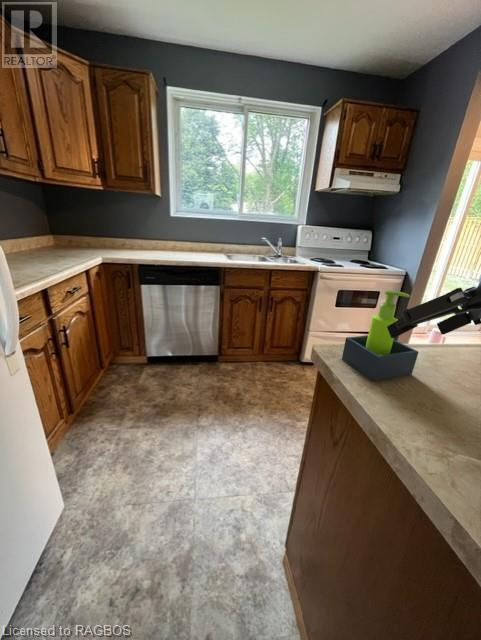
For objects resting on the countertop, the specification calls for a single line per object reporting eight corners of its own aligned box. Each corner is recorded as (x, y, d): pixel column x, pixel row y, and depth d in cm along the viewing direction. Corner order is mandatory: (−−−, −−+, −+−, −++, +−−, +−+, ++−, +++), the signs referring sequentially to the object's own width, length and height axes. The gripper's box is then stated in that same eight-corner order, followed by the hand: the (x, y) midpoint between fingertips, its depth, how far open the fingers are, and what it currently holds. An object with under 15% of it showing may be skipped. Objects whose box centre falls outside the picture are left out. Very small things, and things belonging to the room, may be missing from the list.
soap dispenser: (392, 372, 68) (413, 296, 62) (362, 367, 71) (379, 292, 64) (388, 362, 74) (407, 290, 67) (361, 357, 76) (377, 287, 69)
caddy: (377, 354, 80) (382, 333, 77) (411, 374, 69) (418, 351, 67) (341, 359, 76) (345, 337, 73) (372, 381, 65) (378, 357, 63)
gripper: (474, 301, 37) (373, 350, 55) (594, 296, 43) (467, 342, 61) (449, 256, 40) (362, 317, 58) (564, 257, 46) (452, 313, 64)
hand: (415, 330), depth 60 cm, fingers open, 13 cm apart
